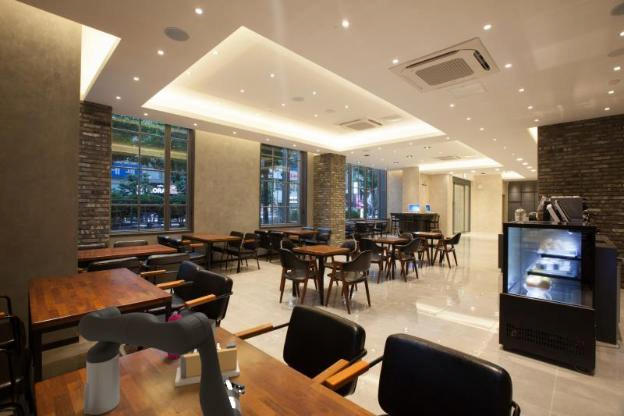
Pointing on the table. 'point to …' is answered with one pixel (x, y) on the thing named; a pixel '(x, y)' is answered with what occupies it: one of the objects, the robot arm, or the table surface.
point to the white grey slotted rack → (196, 379)
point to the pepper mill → (172, 318)
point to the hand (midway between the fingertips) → (224, 378)
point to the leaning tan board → (192, 362)
